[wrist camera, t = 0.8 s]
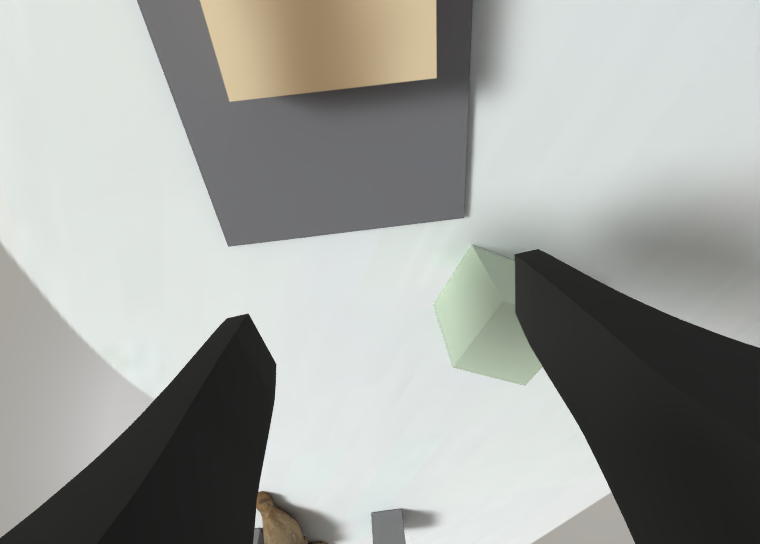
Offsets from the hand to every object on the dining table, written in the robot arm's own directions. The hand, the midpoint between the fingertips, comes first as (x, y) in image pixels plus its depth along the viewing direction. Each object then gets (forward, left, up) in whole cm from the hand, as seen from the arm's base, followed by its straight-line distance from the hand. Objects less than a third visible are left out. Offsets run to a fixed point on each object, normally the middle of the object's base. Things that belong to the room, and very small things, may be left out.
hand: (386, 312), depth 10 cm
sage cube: (-6, +7, -10) cm, 14 cm away
